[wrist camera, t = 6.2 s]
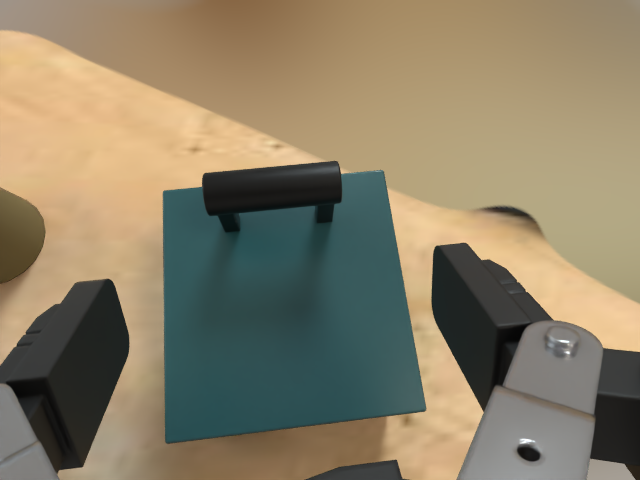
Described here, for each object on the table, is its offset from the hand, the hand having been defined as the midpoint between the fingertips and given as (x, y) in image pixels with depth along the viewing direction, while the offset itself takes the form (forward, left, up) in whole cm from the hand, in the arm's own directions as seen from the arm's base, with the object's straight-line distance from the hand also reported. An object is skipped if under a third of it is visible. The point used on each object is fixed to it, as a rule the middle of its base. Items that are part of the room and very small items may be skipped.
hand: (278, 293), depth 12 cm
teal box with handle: (0, +2, -8) cm, 9 cm away
